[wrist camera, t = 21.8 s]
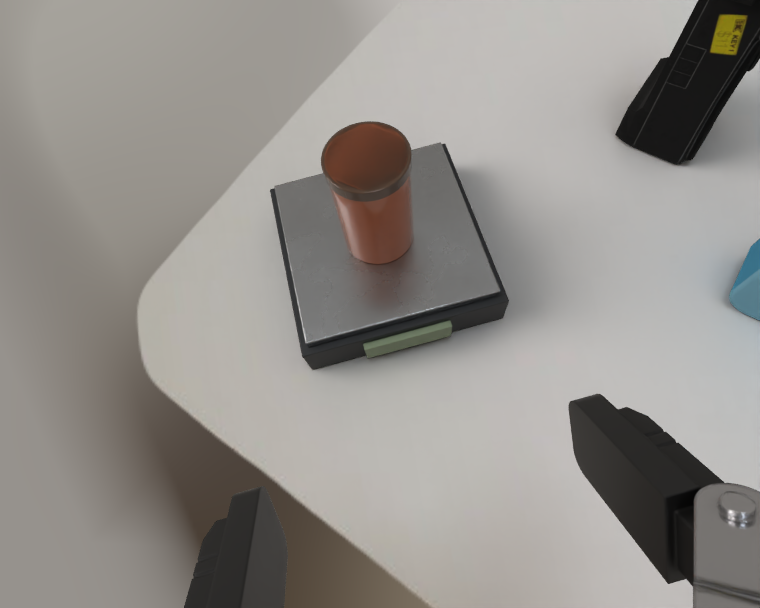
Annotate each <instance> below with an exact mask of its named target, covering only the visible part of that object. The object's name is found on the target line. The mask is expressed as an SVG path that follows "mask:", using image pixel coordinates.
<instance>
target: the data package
mask: <svg viewBox="0 0 760 608" xmlns="http://www.w3.org/2000/svg"><path fill="white" fill-rule="evenodd" d="M729 298H730V302H731V303H732V305H733V306H734V307H735V308H736V309H737V310H739V311H740V312H742V313H744V314H746V315H748V316H750V317H753V318H755V319H757V320H759V321H760V239H759V240H758V241H757V242H756V243H754V244H753V245H752V246H751V248H750V250H749V252H748V254H747V256H746V259H745V261H744V263H743V265H742V268H741V270H740V272H739V274H738V277H737V279H736V281H735V283H734V286H733V288H732V290H731V292H730V295H729Z"/></svg>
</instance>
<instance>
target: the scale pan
mask: <svg viewBox="0 0 760 608" xmlns="http://www.w3.org/2000/svg"><path fill="white" fill-rule="evenodd" d="M411 153H412V168H411V187H412V206H413V226H414V237H413V241H412V243H411V245H410V247H409V249H408V250H407V251H406V252H405V253H404V254H403V255H402V256H401V257H399V258H398V259H396V260H394V261H392V262H389V263H384V264H371V263H367V262H364V261H361V260H360V259H358V258H356V257H355V256H354V255H353V254H352V253H351V252H350V250H349V249H348V247H347V245H346V242H345V238H344V235H343V231H342V228H341V225H340V221H339V218H338V215H337V211H336V208H335V204H334V201H333V198H332V194H331V191H330V187H329V185H328V184H327V182H326V180H325V177H324V173H323V174H319V175H315V176H311V177H308V178H304V179H300V180H296V181H292V182H289V183H285V184H281V185H277V186H275V187H274V188H275V193H276V198H277V203H278V208H279V213H280V218H281V223H282V228H283V233H284V238H285V243H286V248H287V253H288V258H289V263H290V268H291V273H292V278H293V283H294V288H295V293H296V298H297V303H298V308H299V313H300V318H301V323H302V328H303V333H304V338H305V343H306V345H307V346H308V347H311V346H315V345H318V344H322V343H326V342H329V341H333V340H337V339H341V338H344V337H348V336H352V335H355V334H359V333H363V332H366V331H370V330H374V329H377V328H381V327H385V326H389V325H392V324H396V323H400V322H403V321H407V320H411V319H414V318H418V317H422V316H426V315H429V314H433V313H437V312H440V311H444V310H448V309H451V308H455V307H459V306H463V305H466V304H470V303H474V302H477V301H481V300H485V299H488V298H492V297H496V296H499V294H500V288H499V285H498V283H497V280H496V278H495V275H494V273H493V270H492V268H491V265H490V263H489V261H488V258H487V256H486V253H485V251H484V248H483V246H482V243H481V241H480V238H479V236H478V233H477V231H476V228H475V226H474V223H473V221H472V218H471V216H470V213H469V211H468V208H467V206H466V203H465V201H464V198H463V196H462V193H461V191H460V188H459V186H458V183H457V181H456V178H455V176H454V173H453V171H452V168H451V166H450V163H449V161H448V159H447V156H446V154H445V151H444V149H443V146H442V144H441V143H437V144H433V145H429V146H425V147H421V148H418V149H414V150H411Z"/></svg>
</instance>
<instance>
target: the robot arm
mask: <svg viewBox="0 0 760 608" xmlns="http://www.w3.org/2000/svg"><path fill="white" fill-rule="evenodd" d="M569 415H570V424H571V432H572V440H573V449H574V454H575V457H576V460H577V463H578V465H579V467H580V469H581V471H582V473H583V474H584V475H585V477H586V478H587V479H588V481H589V482H590V483H591V485H592V486H593V487H594V488H595V490H596V491H597V492H598V494H599V495H600V496H601V498H602V499H603V500H604V501H605V503H606V504H607V505H608V507H609V508H610V509H611V510H612V512H613V513H614V514H615V516H616V517H617V518H618V520H619V521H620V522H621V523H622V525H623V526H624V527H625V529H626V530H627V531H628V532H629V534H630V535H631V536H632V538H633V539H634V540H635V542H636V543H637V544H638V545H639V547H640V548H641V549H642V551H643V552H644V553H645V555H646V556H647V557H648V558H649V560H650V561H651V562H652V564H653V565H654V566H655V567H656V569H657V570H658V571H659V573H660V574H661V575H662V577H663V578H664V579H665V580H666V582H667V583H668V584H670V583H673V582H677V581H680V580H684V579H687V580H688V581H689V582H690V584H691V585H692V586H693V608H760V492H759V491H757V490H754V489H752V488H749V487H746V486H743V485H738V484H732V483H724V482H723V481H722V480H721V479H720V478H719V477H717V476H716V475H715V474H714V473H713V472H712V471H710V470H709V469H708V468H707V467H706V466H705V465H703V464H702V463H701V462H700V461H699V460H698V459H697V458H695V457H694V456H693V455H692V454H691V453H690V452H688V451H687V450H686V449H685V448H684V447H683V446H682V445H680V444H679V443H676V441H675V439H673V438H672V437H671V436H670V435H669V434H668V433H667V432H664V431H663V429H662V428H661V427H660V426H658V425H657V424H656V423H655V422H654V421H653V420H652V419H650V418H649V417H648V416H646V415H644V414H642V413H639V412H637V411H635V410H632V409H630V408H628V407H625V408H622V409H616V408H615V407H614V406H613V405H612V404H611V403H610V402H609V401H608V400H607V399H606V398H605V397H604V396H602V395H601V394H595V395H592V396H588V397H584V398H581V399H577V400H574V401H571V402H570V403H569ZM287 559H288V552H287V543H286V538H285V534H284V531H283V528H282V526H281V523H280V521H279V519H278V516H277V514H276V512H275V509H274V506H273V504H272V502H271V499H270V496H269V494H268V492H267V490H266V488H265V487H264V486H261V487H258V488H254V489H251V490H247V491H244V492H240V493H237V494H234V495H233V497H232V500H231V504H230V508H229V513H228V517H227V518H225V519H222V520H218V521H216V522H215V523H214V525H213V526H212V528H211V529H210V531H209V532H208V534H207V535H206V537H205V538H204V540H203V542H202V546H201V549H200V553H199V557H198V563H196V567H195V570H194V574H193V576H194V579H192V581H191V585H190V588H189V592H188V595H187V599H186V602H185V606H184V608H284V599H285V586H286V572H287Z"/></svg>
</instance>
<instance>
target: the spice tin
mask: <svg viewBox="0 0 760 608" xmlns="http://www.w3.org/2000/svg"><path fill="white" fill-rule="evenodd" d="M321 166H322V170H323V173H324V177H325V180H326V182H327V184H328V185H329V187H330V191H331V194H332V198H333V201H334V204H335V208H336V211H337V215H338V218H339V221H340V225H341V228H342V231H343V235H344V238H345V242H346V245H347V247H348V249H349V250H350V252H351V253H352V254H353V255H354V256H355V257H356V258H358V259H360V260H361V261H364V262H367V263H371V264H384V263H389V262H392V261H394V260H396V259H398V258H399V257H401V256H402V255H403V254H404V253H405V252H406V251H407V250H408V249H409V247H410V245H411V243H412V241H413V237H414V226H413V206H412V187H411V168H412V153H411V147H410V144H409V142H408V140H407V139H406V137H405V136H404V135H403V134H402V133H401V132H400V131H399V130H398V129H396V128H394V127H392V126H390V125H388V124H385V123H380V122H360V123H355V124H352V125H349V126H347V127H345V128H343V129H341V130H340V131H338V132H337V133H336V134H334V135H333V136H332V137H331V138H330V139H329V141H328V142H327V144H326V145H325V147H324V149H323V152H322V157H321Z"/></svg>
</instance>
